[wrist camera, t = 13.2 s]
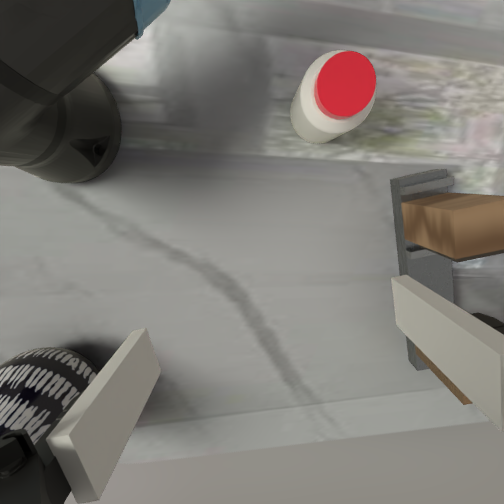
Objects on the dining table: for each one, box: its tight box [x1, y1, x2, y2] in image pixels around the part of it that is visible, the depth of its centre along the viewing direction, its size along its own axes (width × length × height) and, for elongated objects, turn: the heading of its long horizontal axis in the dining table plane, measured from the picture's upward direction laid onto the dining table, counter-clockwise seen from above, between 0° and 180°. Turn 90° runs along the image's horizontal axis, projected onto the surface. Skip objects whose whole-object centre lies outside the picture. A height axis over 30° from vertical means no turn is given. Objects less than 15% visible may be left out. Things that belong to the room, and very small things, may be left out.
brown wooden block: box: [401, 193, 504, 262], centre depth 33 cm, size 6×6×10 cm
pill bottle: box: [290, 50, 376, 144], centre depth 32 cm, size 8×8×11 cm
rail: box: [390, 169, 472, 405], centre depth 36 cm, size 29×6×12 cm, turn 13°
